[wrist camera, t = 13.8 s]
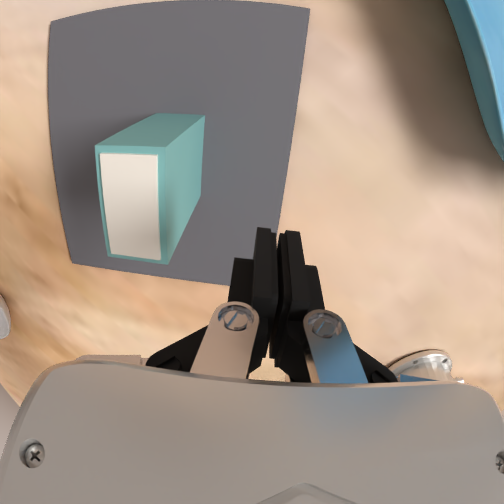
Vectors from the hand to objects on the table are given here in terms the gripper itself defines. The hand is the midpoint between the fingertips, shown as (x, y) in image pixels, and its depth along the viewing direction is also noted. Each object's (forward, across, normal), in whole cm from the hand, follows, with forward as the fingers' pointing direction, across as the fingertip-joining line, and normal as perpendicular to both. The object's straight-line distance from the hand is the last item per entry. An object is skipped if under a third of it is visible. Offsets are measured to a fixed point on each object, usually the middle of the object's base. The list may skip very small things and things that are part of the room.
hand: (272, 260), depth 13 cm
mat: (+15, +9, +1) cm, 18 cm away
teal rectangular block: (+14, +7, +1) cm, 16 cm away
